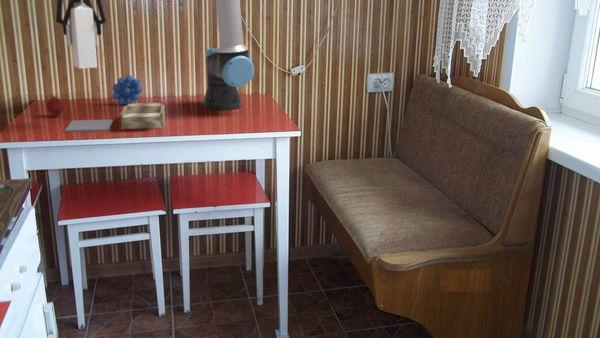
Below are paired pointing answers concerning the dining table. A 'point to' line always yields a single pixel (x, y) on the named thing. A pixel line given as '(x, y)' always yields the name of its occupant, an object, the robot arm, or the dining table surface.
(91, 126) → the plate
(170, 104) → the dining table surface
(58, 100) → the onion
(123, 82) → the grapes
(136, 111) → the crate
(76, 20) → the milk
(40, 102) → the dining table surface
